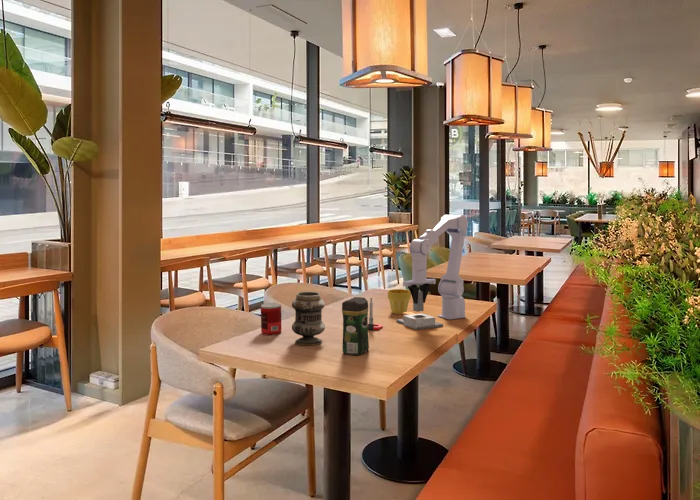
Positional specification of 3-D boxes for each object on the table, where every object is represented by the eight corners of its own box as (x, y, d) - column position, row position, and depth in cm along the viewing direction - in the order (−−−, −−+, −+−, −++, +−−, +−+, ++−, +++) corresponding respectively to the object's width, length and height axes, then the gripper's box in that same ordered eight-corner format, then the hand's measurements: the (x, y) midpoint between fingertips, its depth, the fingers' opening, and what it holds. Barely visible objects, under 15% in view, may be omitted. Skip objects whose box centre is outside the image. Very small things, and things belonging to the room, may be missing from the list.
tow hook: (363, 326, 233) (359, 330, 224) (363, 294, 232) (360, 297, 223) (383, 326, 232) (381, 331, 223) (383, 295, 231) (381, 298, 222)
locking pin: (419, 309, 232) (419, 290, 232) (423, 310, 230) (423, 291, 229) (413, 310, 231) (412, 290, 230) (417, 311, 228) (417, 291, 228)
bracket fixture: (420, 318, 243) (420, 309, 243) (442, 326, 229) (443, 316, 229) (395, 321, 238) (395, 312, 237) (417, 330, 224) (417, 320, 223)
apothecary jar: (312, 348, 198) (311, 297, 196) (285, 343, 205) (284, 294, 203) (331, 340, 208) (331, 292, 207) (305, 336, 215) (304, 289, 213)
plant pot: (411, 315, 251) (411, 293, 250) (388, 315, 251) (388, 293, 250) (409, 310, 261) (409, 288, 260) (387, 310, 261) (387, 289, 260)
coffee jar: (351, 347, 200) (350, 294, 198) (371, 349, 197) (371, 296, 195) (338, 354, 191) (338, 299, 189) (360, 357, 188) (359, 301, 186)
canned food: (284, 331, 223) (284, 303, 222) (275, 336, 216) (275, 307, 215) (267, 329, 226) (266, 302, 225) (257, 334, 218) (257, 306, 217)
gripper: (428, 267, 235) (428, 299, 236) (398, 269, 228) (398, 302, 230) (438, 269, 229) (438, 302, 230) (408, 271, 222) (408, 305, 223)
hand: (419, 302), depth 229 cm, fingers closed on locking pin, 3 cm apart
